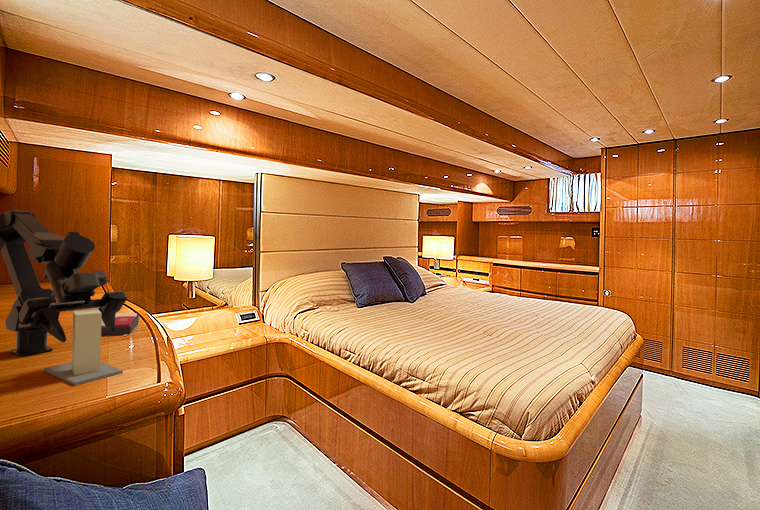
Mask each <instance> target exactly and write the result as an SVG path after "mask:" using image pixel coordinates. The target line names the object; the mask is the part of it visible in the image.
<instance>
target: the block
mask: <svg viewBox="0 0 760 510" xmlns="http://www.w3.org/2000/svg"><path fill="white" fill-rule="evenodd" d="M101 319H102V313H101V312H100V311H99V310H98V309H85V310H77V311H72V341H71V342H72V343H71V345H72V347H71V350H72V351H71V353H72V354H71V355H72V356H71V362H72V371H73V373H74V375H79V374H85V373H91V372H97V371H100V362H101V356H102V355H101V354H102V352H101V351H102V349H101V348H102V336H101Z"/></svg>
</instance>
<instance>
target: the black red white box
mask: <svg viewBox="0 0 760 510" xmlns="http://www.w3.org/2000/svg"><path fill="white" fill-rule="evenodd" d="M139 319H140V314H138V313H116V314H115V332H114V333H113V334H111V333H110V332H109V331H108V329H107V327H106V326H105V324H104V322H103V320H102V319H101V337H106V336H105V335H111V336H121V335H120V334H130V333H132V334H133V332H134V331H135V329H136V328H137V327H138V326H137V325H139V324H138V323H139V322H140V320H139ZM135 327H136V328H135ZM134 328H135V329H134ZM133 330H134V331H133ZM132 331H133V332H132ZM130 335H131V334H130Z"/></svg>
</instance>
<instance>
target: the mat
mask: <svg viewBox="0 0 760 510" xmlns="http://www.w3.org/2000/svg"><path fill="white" fill-rule="evenodd" d="M43 372H46V373H47V374H50V375H52V376H54V377H56V378H58V379H60V380H62V381H64V382H67V383H69V384H71V385H72V386H73V385H74V386H79V385H82V384H86V383H91V382H93V381H97V380H101V379H105V378H109V377H112V376H116V375H120V374H123V372H124V371H123V369H120V368H117V367H115V366H113V365H110V364H108V363H105V362H102V361H100V371H97V372H91V373H85V374H79V375H74V373H73V371H72V361H71V362H66V363H61V364H59V365H53V366H49V367H48V366H47V367H43Z"/></svg>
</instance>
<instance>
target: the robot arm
mask: <svg viewBox="0 0 760 510" xmlns="http://www.w3.org/2000/svg"><path fill="white" fill-rule="evenodd" d="M25 243H28V244H29V251H28V250H27V247H26V244H25ZM95 248H96V245H95V243H94V242H93V241H92V240H91V239H89V238H88V237H86V236H83V235H81V234H80V232H79V231H67V234H66V235H65V236H63V235H60V234H59V235H58V234H54V233H53V232H51V231H50V230H49V229H48V228H47V227H46V226H45V225H44V224H43V223H41V222H40V221H39V220H38V219H37V218H36V215H35V213H34V212H31V211H29V210H27V211H26V210H14V209H13V210H11V209H10V210H7V211H5V212H4V213H2V214H0V253H1V255H2V257H3V258H2V259H3V260H4V263H5V266H6V268H7V272H8V275H9V277H10V279H11V280H10V281H11V283H12V286H13V288H14V290H15V295H16V297H15V299H14V301H13V303H12V305H11V310H10V312H9V313H8V315H7V317H6V319H5V328H6V329H5V330H9V331H11V332H13V333H15V332H16V343H15V344H16V345H15V348H12V349H10V350H9V352H10V353H13V354H14V355H16V356H18V355H19V357H24V356H29V355H30V354H31V355H35V354H40V353H46V352H51V351H54V348H53V347H50V346H48V334H49V335H50V336H52V337H54V338H55V339H57V340H58V341H59V342H61V343H66V341H67V336H66V333H65V330H64V329H63V326H62V324H61V323H60V321H59V318H60V313H62V312H73V311H86V310H95V309H97V310H99V311H100V312H101V313H102V320H103V322H104V324H105V326H106V327H107V329H108V331H109V332H110V333H111V334H113V333H114V332H115V314H117V313H118V312H120V311H121V309H122V307H124V304H125V303H127V302H126V301H127V300H128V297H127V294H126V293H125V292H124V291H123V290H122V291H121V290H116V291H107V292H106V291H105V292H104V293H103V295H102V297H101V298H96V299H91V297H94V296H95V294H96V291H95V290H96V289H97V288H100V287H102V286H105V285H107V284H108V275H107V274H106V271H104V270H95V271H94V272H80V271H79V269H80V268H82V267H84V266H85V265H86V263H87V261H88V260H89V258H90V257H91V255H92V254H93V251H94V250H95ZM31 259H32V260H33V261H34V263H37V264H43V263H44V264H46V265H45V267H44V274H43V280H48V281H49V284H50V286H51V288H52V289H51V288H42V287H41V284H40V281H39V279H38V276H37V274H36V270H35V268H34V266H33V263H32V261H31Z"/></svg>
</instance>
